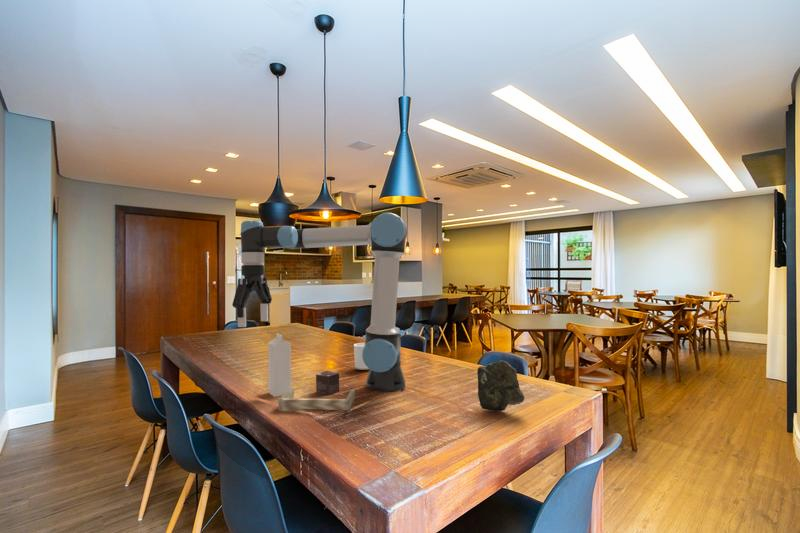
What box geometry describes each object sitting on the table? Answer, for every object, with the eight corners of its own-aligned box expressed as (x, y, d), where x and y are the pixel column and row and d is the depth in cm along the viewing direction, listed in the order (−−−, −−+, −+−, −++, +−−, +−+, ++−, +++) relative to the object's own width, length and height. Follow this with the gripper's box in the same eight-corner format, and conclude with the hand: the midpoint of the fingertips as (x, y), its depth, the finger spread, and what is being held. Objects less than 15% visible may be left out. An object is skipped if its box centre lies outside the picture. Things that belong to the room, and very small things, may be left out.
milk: (274, 400, 132) (273, 336, 132) (268, 395, 137) (267, 334, 137) (291, 396, 136) (290, 334, 136) (285, 392, 141) (284, 332, 141)
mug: (351, 369, 171) (351, 346, 170) (357, 364, 179) (356, 342, 179) (375, 370, 169) (375, 347, 169) (380, 365, 178) (379, 343, 177)
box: (339, 392, 140) (339, 372, 140) (328, 397, 135) (328, 376, 135) (327, 389, 143) (327, 370, 143) (315, 394, 138) (315, 374, 138)
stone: (474, 411, 121) (473, 364, 121) (481, 401, 130) (481, 356, 130) (522, 419, 115) (522, 368, 115) (526, 407, 124) (526, 360, 124)
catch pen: (355, 400, 131) (355, 388, 131) (348, 413, 120) (348, 400, 120) (290, 399, 133) (290, 388, 133) (278, 412, 121) (278, 399, 121)
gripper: (263, 264, 150) (264, 318, 150) (220, 264, 126) (221, 329, 126) (280, 264, 149) (281, 319, 149) (240, 264, 124) (241, 329, 124)
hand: (253, 323), depth 137 cm, fingers open, 13 cm apart
